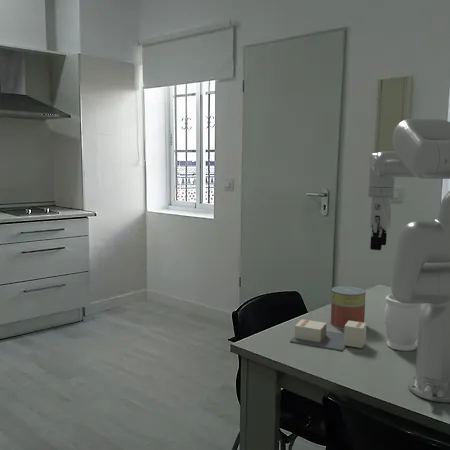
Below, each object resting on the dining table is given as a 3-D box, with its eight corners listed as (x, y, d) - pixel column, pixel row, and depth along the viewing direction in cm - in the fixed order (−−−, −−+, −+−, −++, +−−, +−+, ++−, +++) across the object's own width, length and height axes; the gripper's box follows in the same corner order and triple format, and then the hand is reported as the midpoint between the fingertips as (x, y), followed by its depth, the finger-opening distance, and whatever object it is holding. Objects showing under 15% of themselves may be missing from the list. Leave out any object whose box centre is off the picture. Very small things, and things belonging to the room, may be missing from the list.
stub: (362, 348, 146) (363, 328, 146) (343, 345, 149) (344, 325, 148) (365, 342, 151) (366, 322, 150) (347, 339, 154) (348, 320, 153)
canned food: (367, 322, 172) (368, 288, 170) (360, 331, 162) (361, 296, 160) (335, 317, 177) (336, 284, 175) (326, 326, 167) (327, 291, 165)
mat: (342, 351, 145) (342, 349, 145) (290, 342, 152) (290, 340, 152) (352, 336, 158) (352, 334, 158) (303, 328, 165) (303, 327, 165)
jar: (396, 354, 143) (398, 303, 141) (376, 341, 153) (378, 294, 151) (427, 351, 146) (430, 301, 144) (406, 338, 156) (408, 292, 154)
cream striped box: (320, 342, 151) (321, 329, 150) (294, 338, 155) (295, 325, 154) (326, 335, 157) (327, 322, 157) (301, 331, 161) (301, 318, 160)
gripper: (389, 194, 144) (386, 253, 146) (397, 191, 160) (394, 244, 162) (363, 194, 147) (360, 250, 150) (373, 190, 163) (370, 242, 165)
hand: (378, 247), depth 156 cm, fingers open, 9 cm apart
